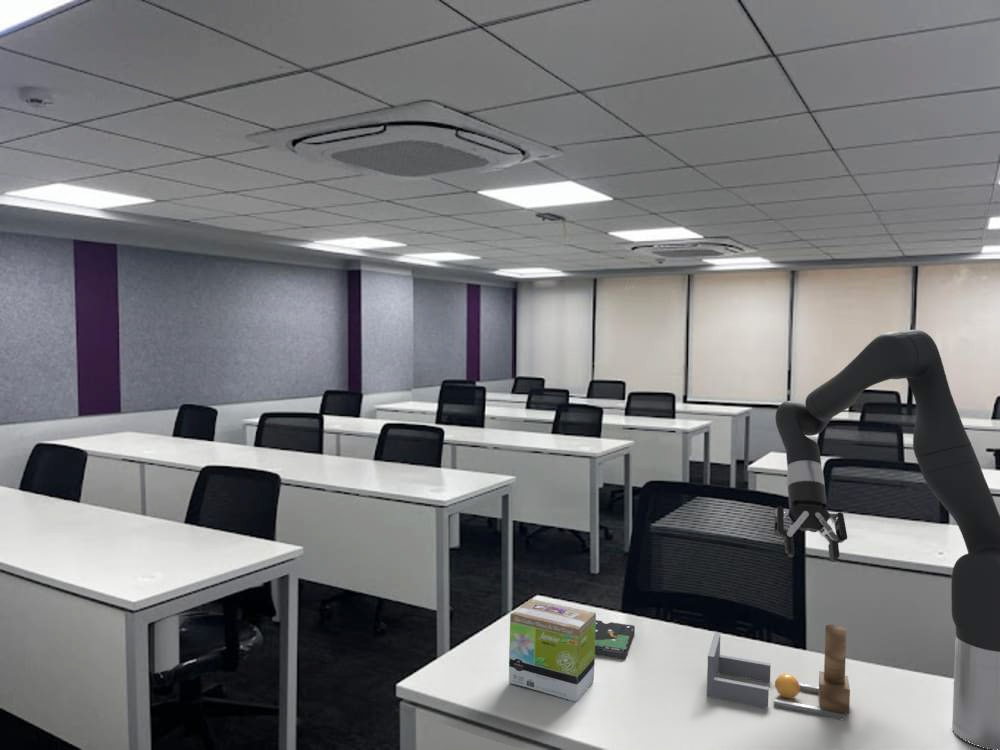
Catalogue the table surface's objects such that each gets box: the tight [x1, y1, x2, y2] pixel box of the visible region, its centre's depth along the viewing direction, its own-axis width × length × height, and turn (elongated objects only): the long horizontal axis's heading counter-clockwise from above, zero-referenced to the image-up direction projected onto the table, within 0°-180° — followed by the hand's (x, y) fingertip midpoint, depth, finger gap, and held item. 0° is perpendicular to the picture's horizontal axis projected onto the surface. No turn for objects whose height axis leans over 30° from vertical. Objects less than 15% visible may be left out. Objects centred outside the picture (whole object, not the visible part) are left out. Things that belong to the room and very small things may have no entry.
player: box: [818, 624, 851, 715], centre depth 134 cm, size 5×6×15 cm
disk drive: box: [595, 619, 636, 660], centre depth 162 cm, size 10×3×15 cm
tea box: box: [508, 598, 597, 703], centre depth 141 cm, size 15×10×15 cm, turn 62°
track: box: [773, 678, 845, 720], centre depth 136 cm, size 12×10×1 cm
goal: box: [706, 632, 772, 709], centre depth 141 cm, size 11×12×8 cm
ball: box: [774, 673, 801, 699], centre depth 137 cm, size 4×4×4 cm
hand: (812, 558), depth 147 cm, fingers open, 8 cm apart
